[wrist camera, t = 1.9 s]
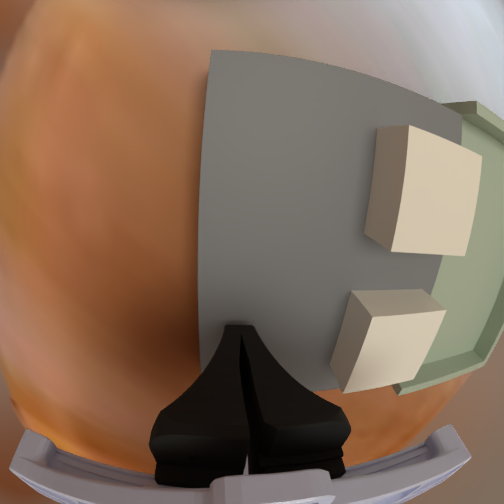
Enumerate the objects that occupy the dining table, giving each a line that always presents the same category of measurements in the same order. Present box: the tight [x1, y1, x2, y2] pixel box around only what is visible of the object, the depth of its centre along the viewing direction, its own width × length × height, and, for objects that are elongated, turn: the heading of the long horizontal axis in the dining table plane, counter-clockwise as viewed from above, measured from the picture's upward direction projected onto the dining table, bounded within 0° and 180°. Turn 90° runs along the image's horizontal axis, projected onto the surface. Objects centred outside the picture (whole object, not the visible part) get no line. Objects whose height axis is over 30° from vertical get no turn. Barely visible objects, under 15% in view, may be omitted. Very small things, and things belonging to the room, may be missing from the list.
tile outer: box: [364, 125, 482, 256], centre depth 10 cm, size 5×5×2 cm
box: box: [392, 101, 504, 396], centre depth 15 cm, size 20×12×4 cm, turn 175°
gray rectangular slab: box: [198, 50, 462, 392], centre depth 14 cm, size 18×14×3 cm
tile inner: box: [330, 289, 446, 394], centre depth 13 cm, size 5×5×2 cm
